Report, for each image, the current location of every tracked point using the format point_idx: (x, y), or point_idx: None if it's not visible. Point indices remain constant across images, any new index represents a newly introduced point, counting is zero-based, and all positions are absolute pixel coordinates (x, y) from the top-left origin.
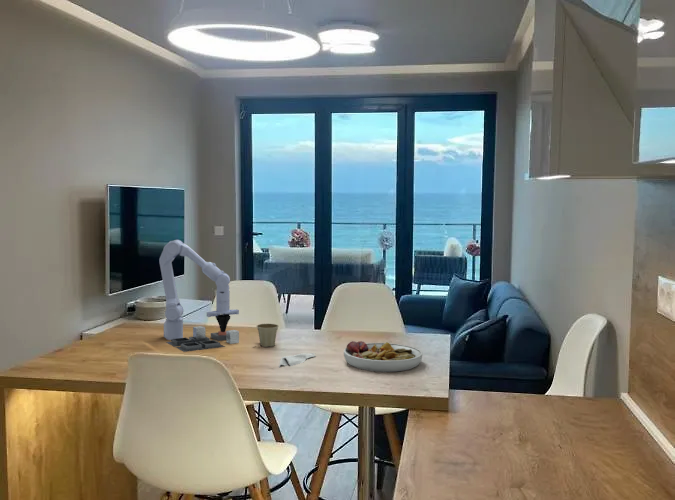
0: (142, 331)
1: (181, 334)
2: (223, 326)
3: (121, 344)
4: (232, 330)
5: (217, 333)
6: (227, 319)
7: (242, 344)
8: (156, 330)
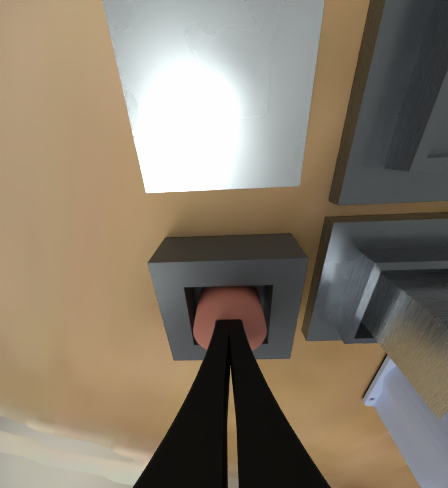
0: (383, 467)
1: None
2: (240, 363)
3: None
4: (202, 152)
5: None
6: (180, 484)
7: None
8: (344, 464)
